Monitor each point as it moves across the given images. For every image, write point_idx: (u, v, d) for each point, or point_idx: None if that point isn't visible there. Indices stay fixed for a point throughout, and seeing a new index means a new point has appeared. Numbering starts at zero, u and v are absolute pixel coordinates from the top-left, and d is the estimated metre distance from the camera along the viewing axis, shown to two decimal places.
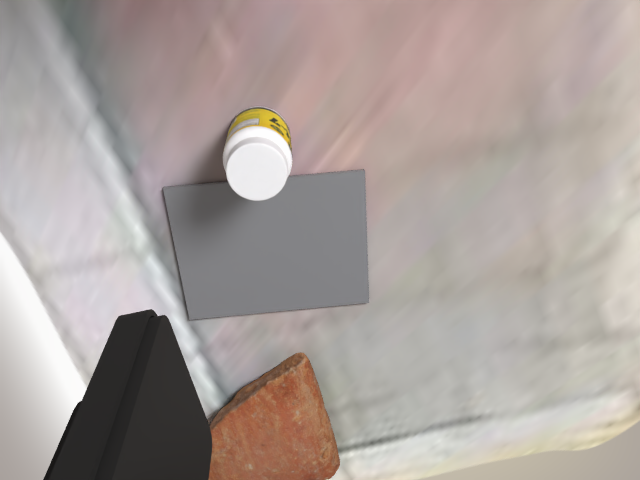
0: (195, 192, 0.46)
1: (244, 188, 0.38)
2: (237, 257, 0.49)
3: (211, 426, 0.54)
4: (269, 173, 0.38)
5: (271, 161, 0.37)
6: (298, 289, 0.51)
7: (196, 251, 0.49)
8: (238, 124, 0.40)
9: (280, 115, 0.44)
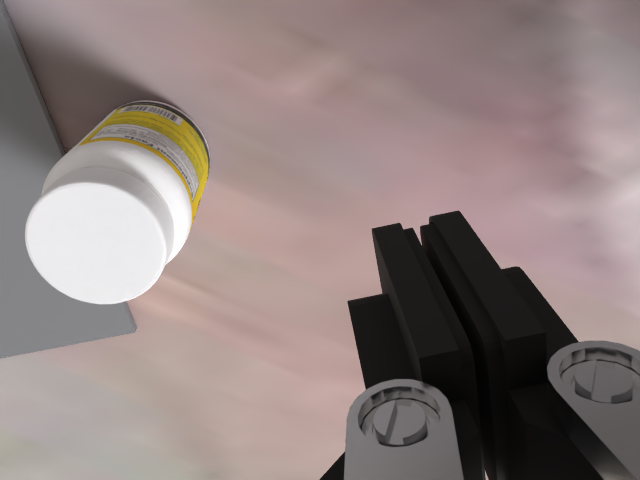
0: None
1: (49, 225, 0.16)
2: None
3: None
4: (101, 271, 0.17)
5: (130, 272, 0.17)
6: None
7: None
8: (178, 148, 0.20)
9: None
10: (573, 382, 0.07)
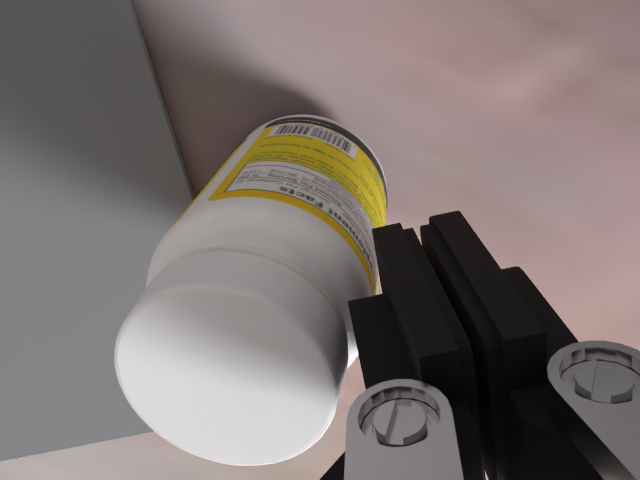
0: (112, 23, 0.15)
1: (152, 345, 0.10)
2: None
3: None
4: (227, 420, 0.10)
5: (273, 429, 0.10)
6: None
7: None
8: (356, 203, 0.13)
9: None
10: (573, 382, 0.07)
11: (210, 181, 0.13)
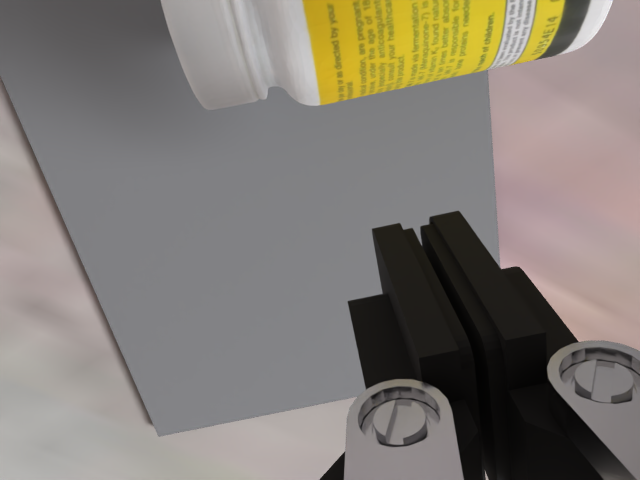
0: None
1: None
2: None
3: None
4: None
5: None
6: (161, 277, 0.18)
7: None
8: None
9: None
10: (573, 382, 0.07)
11: None
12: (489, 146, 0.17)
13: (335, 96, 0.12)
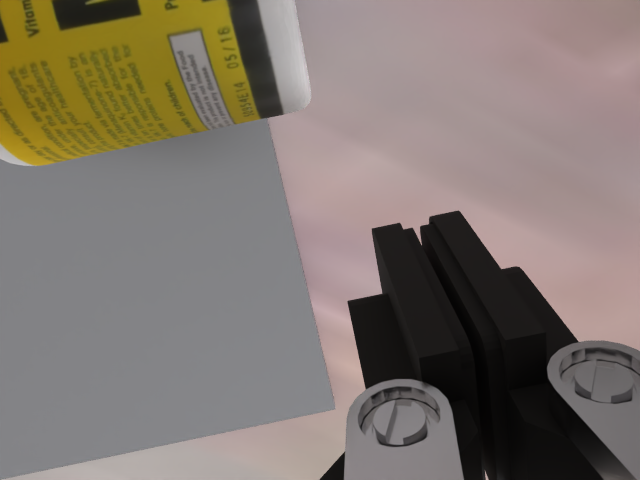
0: None
1: None
2: None
3: None
4: None
5: None
6: None
7: None
8: None
9: None
10: (573, 382, 0.07)
11: None
12: (280, 193, 0.16)
13: (41, 159, 0.12)
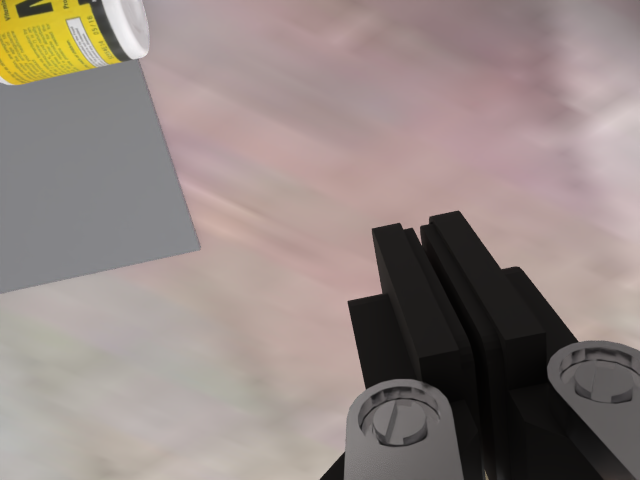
0: None
1: None
2: None
3: None
4: None
5: None
6: None
7: None
8: None
9: None
10: (573, 382, 0.07)
11: None
12: (151, 110, 0.29)
13: (14, 79, 0.25)
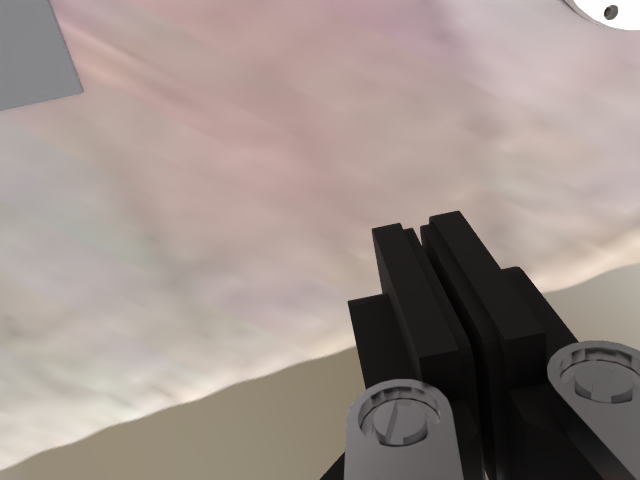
0: None
1: None
2: None
3: None
4: None
5: None
6: None
7: None
8: None
9: None
10: (573, 382, 0.07)
11: None
12: None
13: None
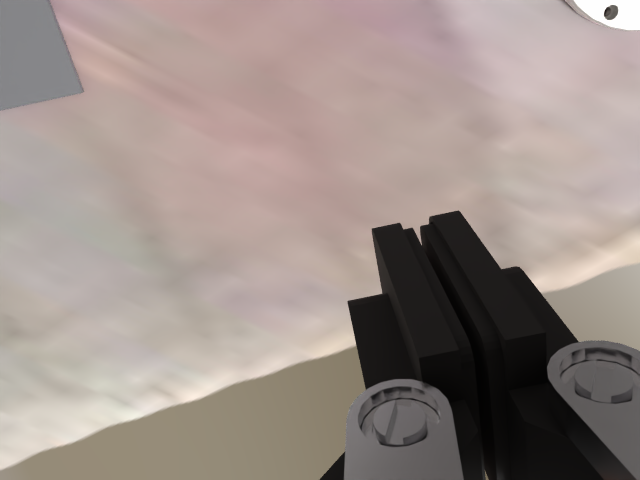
0: None
1: None
2: None
3: None
4: None
5: None
6: None
7: None
8: None
9: None
10: (573, 382, 0.07)
11: None
12: None
13: None
